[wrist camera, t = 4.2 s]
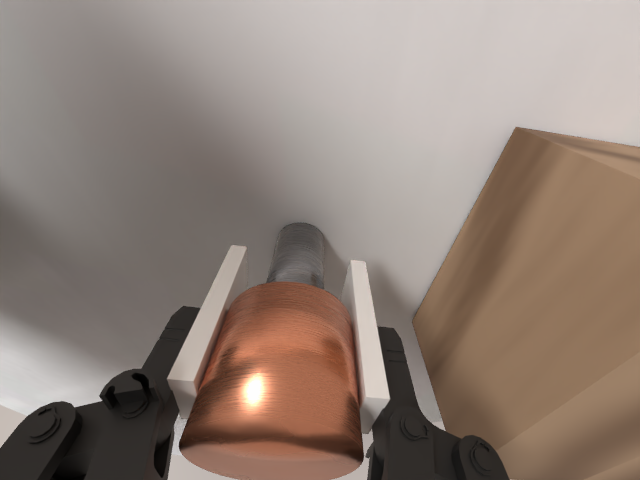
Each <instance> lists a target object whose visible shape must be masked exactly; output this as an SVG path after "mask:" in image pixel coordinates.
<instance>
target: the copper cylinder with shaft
mask: <svg viewBox="0 0 640 480" xmlns="http://www.w3.org/2000/svg"><path fill="white" fill-rule="evenodd" d="M179 449H180V452H181V453H182V455H183V456H184V457H185V458H186V459H187V460H189V461H190V462H191V463H193V464H195V465H196V466H198V467H200V468H203V469H205V470H207V471H210V472H213V473H216V474H219V475H222V476H226V477H230V478H235V479H240V480H331V479H335V478H338V477H341V476H344V475H347V474H349V473H351V472H353V471H354V470H356V469H357V468H358V467H359V466H360V465H361V464H362V462H363V458H364V453H363V442H362V431H361V420H360V409H359V397H358V386H357V375H356V364H355V353H354V342H353V331H352V321H351V317H350V314H349V312H348V310H347V308H346V307H345V306H344V305H343V303H342V302H341V301H340V300H338V299H337V298H336V297H335V296H333V295H332V294H330V293H329V292H327V291H325V290H324V238H323V235H322V234H321V232H320V231H319V230H318V229H317V228H315V227H314V226H312V225H310V224H306V223H293V224H290V225H288V226H286V227H285V228H283V229H282V230H281V232H280V233H279V236H278V239H277V243H276V247H275V251H274V255H273V259H272V263H271V267H270V271H269V275H268V279H267V282H266V283H265V284H261V285H257V286H255V287H252V288H250V289H248V290H246V291H244V292H243V293H241V294H240V295H239V296H238V297H237V298H236V299H235V300H234V301H233V302H232V304H231V306H230V308H229V310H228V313H227V316H226V318H225V321H224V324H223V326H222V329H221V332H220V334H219V337H218V340H217V342H216V345H215V348H214V351H213V353H212V356H211V359H210V361H209V364H208V367H207V369H206V372H205V375H204V377H203V380H202V383H201V385H200V388H199V391H198V393H197V396H196V399H195V402H194V404H193V407H192V410H191V412H190V415H189V418H188V420H187V423H186V426H185V428H184V431H183V434H182V436H181V439H180V442H179Z"/></svg>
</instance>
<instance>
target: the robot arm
mask: <svg viewBox="0 0 640 480" xmlns="http://www.w3.org/2000/svg"><path fill="white" fill-rule="evenodd" d="M247 287H248V273H247V247H245V246H237V245H231V247H230V249H229V251H228V253H227V255H226V257H225V259H224V261H223V263H222V265H221V267H220V270H219V272H218V274H217V276H216V278H215V280H214V282H213V284H212V286H211V288H210V290H209V292H208V294H207V297H206V299H205V301H204V303H203V305H202V307H201V308H195V307H186V306H183V307H182V308H180V309H179V310H178V311H177V312H176V313H175V314H174V315H172V317H171V319H170V320H169V322H168V324H167V325H166V327H165V330H164V331H163V332H162V334H161V336H160V339H159V340H158V341H157V343H156V345H155V346H154V348H153V350H152V352H151V353H150V355H149V357H148V359H147V360H146V362H145V364H144V365H143V367H142V369H132V370H128V371H125V372H123V373H121V374H119V375H117V376H116V377H114V378H113V379H112V380H111V381H110V382H109V383H108V384H107V385H106V386H105V387H104V389H103V390H102V392H101V394H100V395H99V396H100V398H101V399H102V401H101V402H96V403H92V404H88V405H84V406H79V407H75V408H74V407H73V405H72V404H70V403H67V402H64V401H61V402H53V403H50V404H48V405H45V406H43V407H40V408H39V409H37V410H36V411H34V412H33V413H31V414H30V415H28V416H27V417H26V418H25V420H23V421H22V422H21V423H20V424H19V425H18V427H17V428H16V429H15V430H14V432H13V433H12V434H11V435H10V437H9V438H8V439H7V440H6V442H5V443H4V444H3V445H2V447H1V448H0V480H167V479H168V472H169V466H170V459H171V453H172V446H173V440H174V423H175V421H176V419H177V416H178V414H180V417H181V419H188V418H189V415H190V412H191V410H192V407H193V404H194V402H195V399H196V396H197V393H198V391H199V388H200V385H201V383H202V380H203V377H204V375H205V372H206V369H207V367H208V364H209V361H210V359H211V356H212V353H213V351H214V348H215V345H216V342H217V340H218V337H219V334H220V332H221V329H222V326H223V324H224V321H225V318H226V316H227V313H228V310H229V308H230V306H231V304H232V302H233V301H234V300H235V299H236V298H237V297H238V296H239V295H240V294H241V293H243V292H244V291H246V290H247ZM341 302H342V303H343V305H344V306H345V307H346V308H347V310H348V312H349V314H350V317H351V321H352V331H353V342H354V353H355V364H356V375H357V386H358V397H359V409H360V420H361V431H362V433H363V434H369V432H370V430H371V429H372V432H373V440H374V441H373V443H372V444H371V446H370V447H369V449H368V450H367V453H366V457H367V458H369V457H370V459H369V469H368V478H367V480H509V477H508V475H507V472H506V470H505V467H504V465H503V462H502V461H501V459H500V457H499V455H498V453H497V452H496V451H495V450H494V448H493V447H492V446H491V445H490V444H489V443H488V442H486V441H485V440H483V439H482V438H481V437H477V436H474V435H468V436H465V437H464V438H462V439H461V438H459V437H457V436H454V435H452V434H450V433H448V432H446V431H444V430H441V429H439V428H438V427H436V426H434V425H433V424H432V423H431V422H429V421H428V420H427V419H426V417H425V416H424V415H423V413H422V412H421V410H420V408H419V406H418V403H417V400H416V396H415V392H414V388H413V384H412V380H411V376H410V372H409V368H408V364H407V360H406V357H405V354H404V349H403V345H402V341H401V338H400V337H399V335H398V334H397V332H396V331H395V329H394V328H386V327H377V324H376V318H375V312H374V307H373V301H372V296H371V290H370V285H369V279H368V273H367V268H366V262H365V261H358V260H350V264H349V267H348V271H347V275H346V278H345V282H344V286H343V290H342V293H341Z"/></svg>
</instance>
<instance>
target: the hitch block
mask: <svg viewBox="0 0 640 480" xmlns="http://www.w3.org/2000/svg"><path fill="white" fill-rule="evenodd" d="M412 323H413V327H414V330H415V333H416V336H417V340H418V343H419V346H420V349H421V352H422V356H423V359H424V362H425V365H426V369H427V372H428V375H429V378H430V381H431V385H432V388H433V391H434V394H435V398H436V401H437V404H438V407H439V410H440V414H441V417H442V420H443V423H444V427H445V430H446V432H448V433H450V434H452V435H454V436H457V437H459V438H461V439H462V438H464V437H465V436H468V435H474V436H477V437H481V438H482V439H483V440H485V441H486V442H488V443H489V444H490V445H491V446H492V447H493V448H494V450H495V451H496V452H497V453H498V455H499V457H500V459H501V461H502V462H503V465H504V467H505V470H506V472H507V475H508V477H509V479H512V480H640V147H635V146H629V145H623V144H617V143H611V142H605V141H599V140H593V139H587V138H581V137H574V136H568V135H562V134H556V133H550V132H544V131H538V130H532V129H526V128H520V127H516V128H515V130H514V132H513V133H512V135H511V137H510V139H509V141H508V143H507V145H506V146H505V148H504V150H503V152H502V154H501V156H500V158H499V160H498V161H497V163H496V165H495V167H494V169H493V171H492V173H491V175H490V176H489V178H488V180H487V182H486V184H485V186H484V188H483V190H482V191H481V193H480V195H479V197H478V199H477V201H476V203H475V204H474V206H473V208H472V210H471V212H470V214H469V216H468V218H467V219H466V221H465V223H464V225H463V227H462V229H461V231H460V233H459V234H458V236H457V238H456V240H455V242H454V244H453V246H452V247H451V249H450V251H449V253H448V255H447V257H446V259H445V261H444V262H443V264H442V266H441V268H440V270H439V272H438V274H437V276H436V277H435V279H434V281H433V283H432V285H431V287H430V289H429V290H428V292H427V294H426V296H425V298H424V300H423V302H422V304H421V305H420V307H419V309H418V311H417V313H416V315H415V317H414V319H413V320H412Z"/></svg>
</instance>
